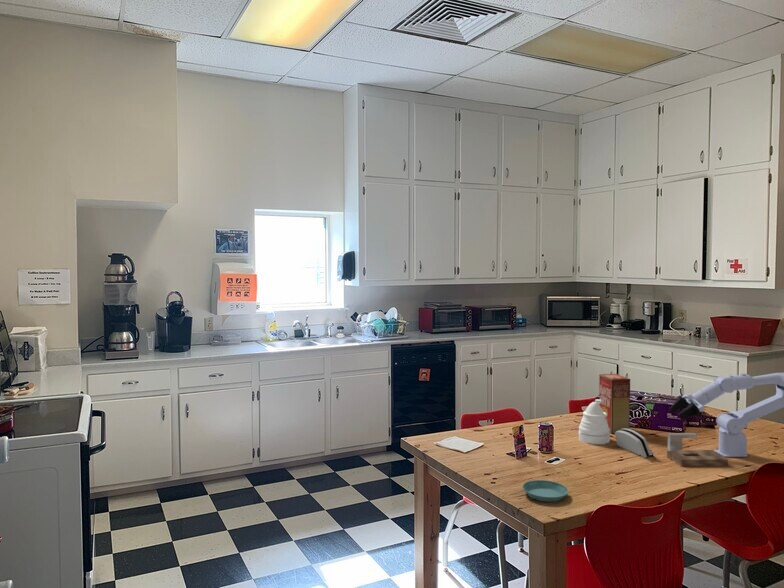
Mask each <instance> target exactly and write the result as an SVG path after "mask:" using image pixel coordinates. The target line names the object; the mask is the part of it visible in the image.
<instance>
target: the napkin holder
mask: <svg viewBox="0 0 784 588" xmlns="http://www.w3.org/2000/svg"><path fill="white" fill-rule="evenodd" d="M614 436H615V440H616V445H618V446H617V447H619V446H620V448H622V447H623V448H622V449H624V448H625V449H624V450H626V449H627V450H626V451H628V450H629V452H630V451H632V452H631V453H633V452H634V453H633V454H635V453H636V454H635V455H637V454H638V456H639V455H641V456H643V457H642V458H644V457H646V458H647V457H648V456H651V454H652V455H654V456H655V453H654V451H652V450H651V449H650V446H649V443H648V440H647V439H646V437H645V436H643V435H641V434H640V433H639V432H637V431H635V430H633V429H631V428H630V429H626V428H623V429H619V430H618V431H616V432H615V434H614ZM641 456H640V457H641Z"/></svg>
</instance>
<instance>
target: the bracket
mask: <svg viewBox="0 0 784 588" xmlns="http://www.w3.org/2000/svg"><path fill="white" fill-rule="evenodd" d="M694 438H695V439H696V438H698V434H697V433H695V432H673V433H671V432H668V433H667V449H668V450H670V451H678V450H683V439H694ZM668 450H667V451H668Z"/></svg>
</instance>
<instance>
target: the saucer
mask: <svg viewBox="0 0 784 588" xmlns="http://www.w3.org/2000/svg"><path fill="white" fill-rule="evenodd" d="M521 487H522V488H523V489H522V490H523V491H524V492H525V493H526V495H527V496H529V498H531V499H533V500H535V499H536V500H535V501H540V502H544V501H545V502H547V503H554V502H559V501H561V500H563V498H565V497H566V496H567V494H568V492H569V489H568V488H567V487H566V486H565V485H564V484H561V483H558V482H555V481H552V480H542V479H541V480H540V479H538V480H537V479H535V480H534V479H533V480H529V481H526V482H524V483H523V484H522V486H521Z"/></svg>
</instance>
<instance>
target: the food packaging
mask: <svg viewBox="0 0 784 588" xmlns="http://www.w3.org/2000/svg"><path fill="white" fill-rule="evenodd" d="M598 378H599V381H598V384H599V386H598V387H599V388H598V390H599V392H598V397H599V399H600V400H602V401H601V403H600V404H599V405H600V407H601V408H602V410H603V412H605V413H606V414H607V416H606V417H605V418H606V420H607V424H608V427H609V429H610V434H612V435H615V432H616V431H618V430H619V429H623V428H626V429H631V413H630V412H631V378H628V377H626V376H622V375H619V374H618V373H602V374H601V373H600V374H599V377H598Z"/></svg>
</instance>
